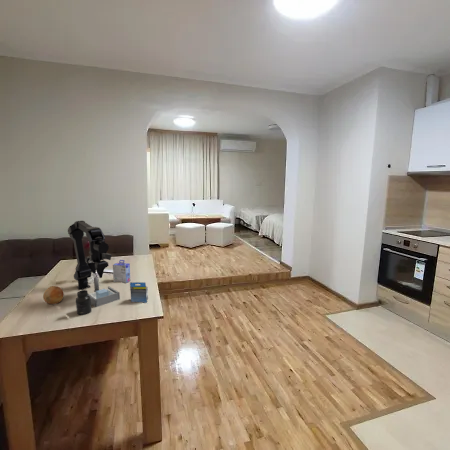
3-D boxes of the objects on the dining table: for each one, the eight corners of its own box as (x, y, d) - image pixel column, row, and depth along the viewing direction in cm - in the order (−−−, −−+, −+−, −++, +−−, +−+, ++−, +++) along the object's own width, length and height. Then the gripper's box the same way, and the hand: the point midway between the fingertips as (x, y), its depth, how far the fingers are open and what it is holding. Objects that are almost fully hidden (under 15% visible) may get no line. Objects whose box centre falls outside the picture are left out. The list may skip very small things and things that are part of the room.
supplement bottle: (80, 310, 148) (78, 289, 146) (93, 310, 148) (92, 288, 146) (74, 317, 141) (72, 294, 139) (88, 316, 142) (86, 294, 140)
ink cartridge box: (131, 280, 190) (129, 259, 188) (126, 283, 185) (125, 262, 182) (117, 279, 192) (116, 259, 190) (113, 282, 187) (111, 261, 184)
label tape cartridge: (148, 300, 161) (147, 279, 159) (146, 303, 157) (145, 282, 155) (132, 300, 161) (131, 279, 158) (130, 303, 157) (129, 282, 155)
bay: (86, 301, 158) (85, 293, 158) (109, 294, 168) (109, 286, 167) (95, 308, 150) (95, 300, 149) (119, 300, 160) (119, 292, 159)
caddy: (86, 298, 161) (85, 279, 159) (105, 293, 169) (104, 274, 167) (97, 306, 152) (95, 286, 149) (116, 300, 160) (115, 280, 158)
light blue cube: (96, 299, 159) (95, 291, 158) (105, 296, 163) (104, 288, 162) (100, 302, 156) (99, 293, 155) (109, 299, 159) (108, 291, 158)
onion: (40, 308, 150) (38, 290, 148) (48, 300, 160) (46, 283, 158) (60, 306, 152) (58, 289, 150) (67, 299, 161) (65, 282, 160)
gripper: (116, 250, 159) (118, 276, 162) (102, 244, 172) (104, 268, 174) (96, 254, 151) (98, 281, 154) (83, 247, 164) (85, 273, 166)
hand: (97, 275), depth 162 cm, fingers open, 9 cm apart
